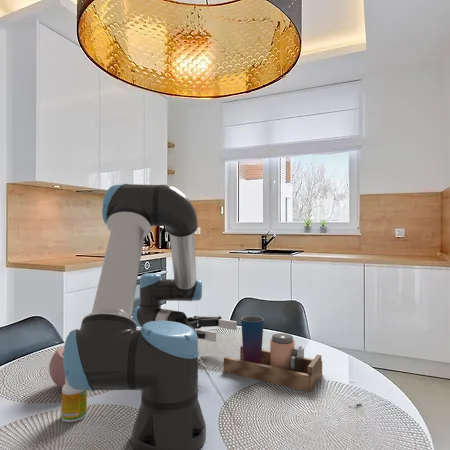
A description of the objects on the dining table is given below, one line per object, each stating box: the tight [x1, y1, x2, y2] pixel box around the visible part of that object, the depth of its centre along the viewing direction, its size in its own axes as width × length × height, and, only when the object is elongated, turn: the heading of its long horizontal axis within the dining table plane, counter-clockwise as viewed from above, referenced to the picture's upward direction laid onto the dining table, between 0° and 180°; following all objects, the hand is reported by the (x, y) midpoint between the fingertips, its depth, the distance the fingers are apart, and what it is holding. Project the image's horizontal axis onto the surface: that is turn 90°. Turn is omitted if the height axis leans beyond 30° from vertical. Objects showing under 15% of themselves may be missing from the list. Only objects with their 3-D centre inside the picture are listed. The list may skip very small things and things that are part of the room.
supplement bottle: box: [61, 377, 88, 423], centre depth 82 cm, size 5×5×10 cm
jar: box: [269, 332, 296, 370], centre depth 103 cm, size 7×7×11 cm
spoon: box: [348, 381, 366, 417], centre depth 89 cm, size 4×21×2 cm, turn 168°
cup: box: [240, 315, 265, 364], centre depth 107 cm, size 7×7×15 cm
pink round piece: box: [48, 347, 66, 389], centre depth 97 cm, size 12×12×12 cm
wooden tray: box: [223, 345, 323, 393], centre depth 104 cm, size 26×12×7 cm, turn 61°
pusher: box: [291, 344, 305, 373], centre depth 101 cm, size 1×9×9 cm, turn 151°
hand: (226, 331), depth 112 cm, fingers open, 13 cm apart
